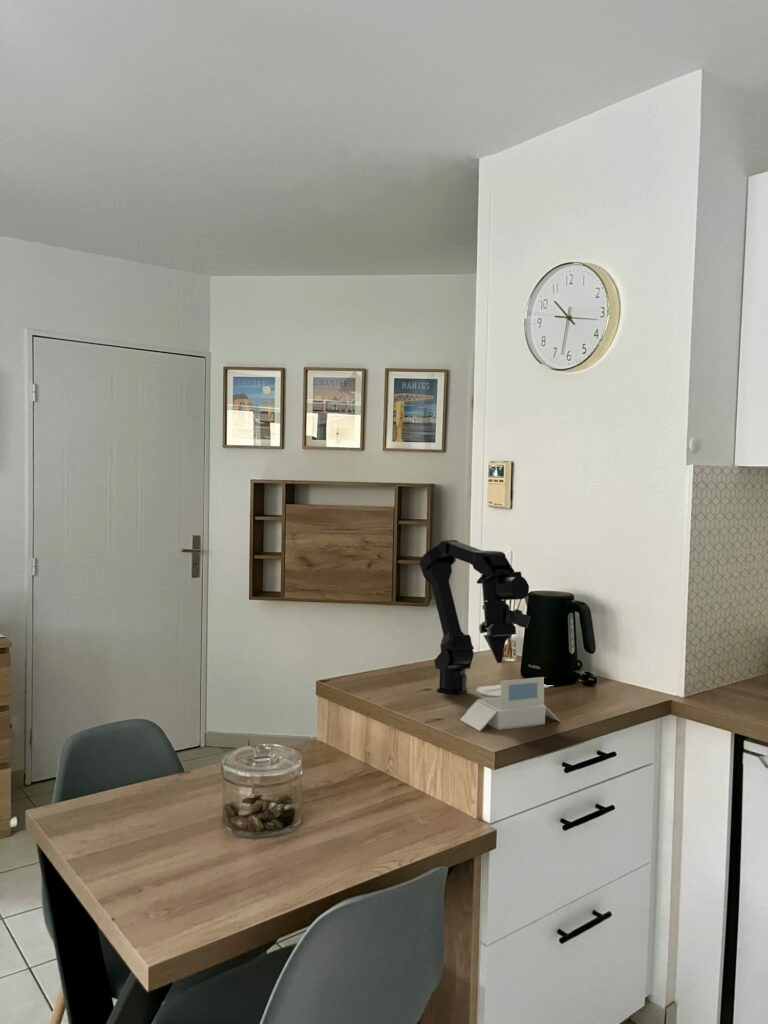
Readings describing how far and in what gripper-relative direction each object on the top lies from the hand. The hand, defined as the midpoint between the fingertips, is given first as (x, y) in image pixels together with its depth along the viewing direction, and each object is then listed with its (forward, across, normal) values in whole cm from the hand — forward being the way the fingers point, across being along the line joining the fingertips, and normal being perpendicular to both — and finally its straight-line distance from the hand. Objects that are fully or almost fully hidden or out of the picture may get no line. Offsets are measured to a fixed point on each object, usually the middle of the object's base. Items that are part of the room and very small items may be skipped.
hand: (499, 662), depth 196 cm
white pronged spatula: (+10, +23, -9) cm, 27 cm away
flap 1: (+11, -11, +8) cm, 18 cm away
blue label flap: (+6, -13, -3) cm, 14 cm away
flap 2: (+11, -4, -9) cm, 15 cm away
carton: (+13, -7, 0) cm, 15 cm away
